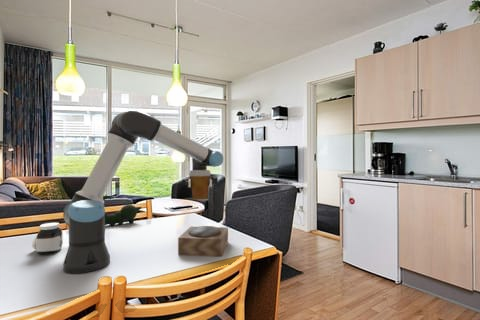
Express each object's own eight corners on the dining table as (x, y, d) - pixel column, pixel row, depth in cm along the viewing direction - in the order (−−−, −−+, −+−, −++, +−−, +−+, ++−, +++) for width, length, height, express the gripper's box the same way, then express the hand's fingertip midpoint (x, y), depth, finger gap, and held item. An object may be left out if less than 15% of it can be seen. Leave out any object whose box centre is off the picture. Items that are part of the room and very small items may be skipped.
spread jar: (53, 255, 111) (53, 227, 111) (22, 257, 109) (22, 228, 109) (67, 246, 123) (67, 220, 122) (39, 247, 121) (39, 221, 121)
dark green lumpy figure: (98, 231, 152) (144, 221, 165) (95, 198, 151) (141, 191, 164) (97, 227, 160) (141, 218, 173) (93, 196, 159) (138, 189, 172)
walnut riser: (178, 254, 112) (178, 235, 112) (190, 241, 130) (190, 224, 130) (221, 256, 110) (221, 236, 110) (227, 242, 128) (227, 225, 128)
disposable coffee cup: (215, 197, 119) (215, 170, 119) (201, 200, 111) (201, 171, 111) (199, 195, 124) (198, 169, 124) (184, 199, 116) (184, 171, 116)
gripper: (220, 185, 137) (225, 192, 115) (178, 187, 134) (174, 193, 111) (220, 171, 137) (225, 174, 115) (178, 171, 134) (174, 175, 111)
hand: (200, 183), depth 113 cm, fingers closed on disposable coffee cup, 8 cm apart
